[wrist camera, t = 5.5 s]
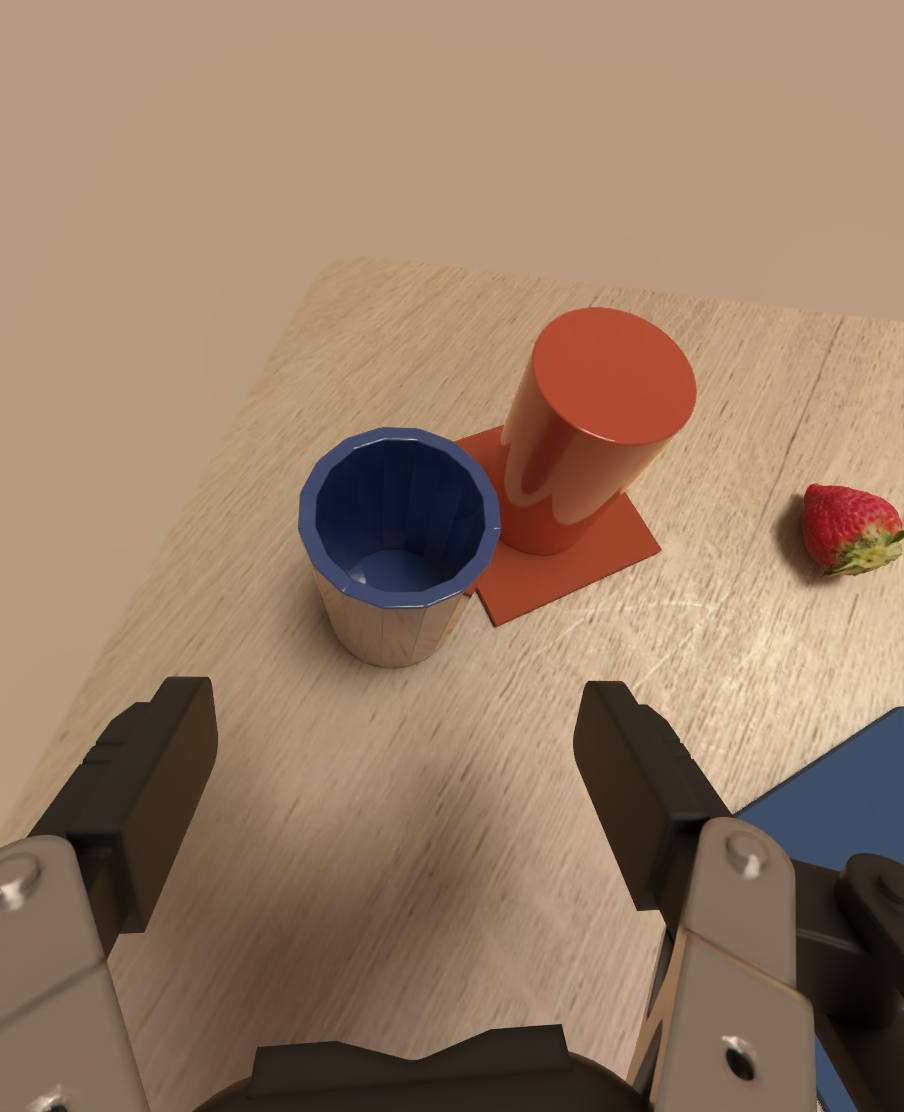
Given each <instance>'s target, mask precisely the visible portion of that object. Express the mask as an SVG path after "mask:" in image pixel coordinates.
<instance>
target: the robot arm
mask: <svg viewBox="0 0 904 1112" xmlns="http://www.w3.org/2000/svg"><path fill="white" fill-rule="evenodd" d="M217 748H218V731H217V723H216V715H215V706H214V698H213V690H212V683H211V680H210V679H209V677H167V678H166V679H165V680H164V682H163V683H162V685H161V686H160V688H159V689H158V691H157V692H156V694H155V695H154V697H153V698H152V700H151V701H150V702H136V703H134V704H133V705H132V706H130V707H129V708H128V709H126V710H125V711H124V712H122V713H121V714H120V715H118V716H117V717H115V718H114V719H113V720H111V722H110V723H109V725H108V726H107V727H106V729H105V730H104V731H103V733H102V734H101V736H100V737H99V738H98V740H97V741H96V745H95V746H93V747H92V748H91V749H90V751H89V752H88V753H87V755H86V756H85V758H84V759H83V763H82V765H79V766H78V767H77V769H76V770H75V771H74V773H73V774H72V775H71V777H70V778H69V780H68V781H67V782H66V784H65V785H64V786H63V788H62V789H61V791H60V792H59V793H58V795H57V796H56V798H55V799H54V800H53V802H52V803H51V804H50V806H49V807H48V809H47V810H46V811H45V813H44V814H43V815H42V817H41V818H40V820H39V821H38V822H37V824H36V825H35V826H34V828H33V829H32V831H31V832H30V833H29V835H28V836H27V837H26V838H24V839H21V840H18V841H15V842H13V843H10V844H8V845H6V846H4V847H2V848H0V1112H150V1109H149V1106H148V1102H147V1099H146V1095H145V1092H144V1088H143V1085H142V1082H141V1078H140V1075H139V1071H138V1068H137V1064H136V1061H135V1057H134V1054H133V1050H132V1047H131V1043H130V1040H129V1036H128V1033H127V1030H126V1026H125V1023H124V1019H123V1016H122V1012H121V1009H120V1005H119V1002H118V998H117V995H116V991H115V988H114V984H113V981H112V978H111V974H110V971H109V967H108V964H107V959H108V957H109V955H110V953H111V950H112V948H113V946H114V944H115V942H116V939H117V937H118V935H119V934H127V933H144V932H145V929H146V927H147V925H148V922H149V920H150V918H151V915H152V913H153V910H154V908H155V906H156V903H157V901H158V898H159V896H160V894H161V891H162V889H163V886H164V884H165V882H166V879H167V877H168V874H169V872H170V870H171V867H172V865H173V862H174V860H175V858H176V855H177V853H178V850H179V848H180V846H181V843H182V841H183V838H184V836H185V834H186V831H187V829H188V827H189V824H190V822H191V819H192V817H193V815H194V812H195V810H196V807H197V805H198V803H199V800H200V798H201V795H202V793H203V791H204V788H205V786H206V783H207V781H208V779H209V776H210V774H211V771H212V769H213V766H214V763H215V759H216V755H217ZM573 750H574V756H575V761H576V764H577V767H578V769H579V771H580V774H581V776H582V779H583V781H584V783H585V786H586V788H587V791H588V793H589V796H590V798H591V800H592V803H593V805H594V808H595V810H596V813H597V815H598V817H599V820H600V822H601V825H602V827H603V829H604V832H605V834H606V837H607V839H608V842H609V844H610V846H611V849H612V851H613V854H614V856H615V859H616V861H617V863H618V866H619V868H620V871H621V873H622V875H623V878H624V880H625V883H626V885H627V888H628V890H629V892H630V895H631V897H632V900H633V902H634V905H635V907H636V909H637V911H646V910H660V912H661V914H662V916H663V919H664V921H665V923H666V925H665V928H664V930H663V933H662V936H661V941H660V945H659V950H658V954H657V958H656V963H655V967H654V972H653V976H652V980H651V985H650V989H649V994H648V998H647V1002H646V1007H645V1011H644V1016H643V1020H642V1024H641V1029H640V1033H639V1037H638V1040H637V1044H636V1048H635V1051H634V1054H633V1057H632V1061H631V1064H630V1067H629V1071H628V1074H627V1078H626V1081H624V1080H623V1079H622V1078H620V1077H619V1076H618V1075H616V1074H615V1073H614V1072H612V1071H610V1070H609V1069H607V1068H605V1067H604V1066H602V1065H600V1064H599V1063H597V1062H595V1061H593V1060H591V1059H588V1058H586V1057H584V1056H581V1055H579V1054H576V1053H573V1052H569V1051H568V1049H567V1045H566V1041H565V1036H564V1032H563V1028H562V1024H555V1025H542V1026H528V1027H515V1028H502V1029H490V1030H488V1031H486V1032H483V1033H481V1034H479V1035H476V1036H474V1037H472V1038H469V1039H467V1040H465V1041H463V1042H460V1043H458V1044H456V1045H453V1046H451V1047H449V1048H446V1049H444V1050H442V1051H439V1052H437V1053H435V1054H432V1055H430V1056H428V1057H425V1058H423V1059H419V1060H407V1059H403V1058H399V1057H395V1056H391V1055H388V1054H384V1053H380V1052H376V1051H372V1050H368V1049H365V1048H361V1047H357V1046H353V1045H349V1044H345V1043H342V1042H338V1041H330V1042H317V1043H304V1044H291V1045H277V1046H264V1047H257V1050H256V1055H255V1061H254V1066H253V1071H252V1076H250V1077H248V1078H245V1079H243V1080H241V1081H238V1082H236V1083H234V1084H233V1085H231V1086H229V1087H227V1088H226V1089H224V1090H222V1091H220V1092H219V1093H217V1094H215V1095H214V1096H213V1097H211V1098H210V1099H208V1100H207V1101H206V1102H204V1103H203V1104H201V1105H200V1106H199V1107H197V1108H196V1109H195V1110H194V1111H192V1112H817V1095H816V1065H815V1036H814V1032H815V1034H816V1036H817V1038H818V1039H819V1041H820V1043H821V1045H822V1047H823V1049H824V1050H825V1052H826V1054H827V1056H828V1058H829V1059H830V1061H831V1063H832V1065H833V1067H834V1069H835V1070H836V1072H837V1074H838V1076H839V1078H840V1080H841V1081H842V1083H843V1085H844V1087H845V1089H846V1091H847V1092H848V1094H849V1096H850V1098H851V1100H852V1102H853V1103H854V1105H855V1107H856V1109H857V1111H858V1112H904V1011H903V1010H902V1008H903V1007H904V865H902V864H900V863H899V862H896V861H894V860H892V859H890V858H887V857H884V856H881V855H877V854H873V853H858V854H854V855H852V856H851V857H850V858H849V859H848V861H847V862H846V864H845V866H844V868H843V870H842V871H841V872H840V871H836V870H832V869H829V868H825V867H821V866H817V865H813V864H809V863H806V862H802V861H798V860H794V859H791V858H789V857H788V855H787V854H786V852H785V851H784V850H783V849H782V847H781V846H780V845H779V844H778V843H777V842H776V841H775V840H774V839H773V838H771V837H770V836H769V835H768V834H766V833H765V832H763V831H762V830H760V829H759V828H757V827H755V826H753V825H751V824H749V823H747V822H744V821H742V820H738V819H735V818H734V817H733V816H732V814H731V813H730V811H729V810H728V808H727V807H726V805H725V804H724V803H723V801H722V800H721V798H720V797H719V795H718V794H717V792H716V791H715V790H714V788H713V787H712V785H711V784H710V782H709V781H708V779H707V778H706V776H705V775H704V774H703V772H702V771H701V769H700V768H699V766H698V765H697V763H696V762H695V761H694V759H691V755H690V753H689V752H688V750H687V749H686V747H685V746H684V745H683V743H680V739H679V737H678V736H677V734H676V733H675V732H674V730H673V729H672V727H671V726H670V724H669V723H668V721H667V720H666V719H664V718H663V717H662V716H661V715H659V714H658V713H657V712H656V711H654V710H653V709H652V708H651V707H649V706H648V705H639V704H638V703H637V701H636V700H635V698H634V696H633V695H632V693H631V692H630V690H629V689H628V687H627V686H626V684H625V683H624V682H622V681H588V682H587V683H586V685H585V687H584V691H583V695H582V699H581V704H580V708H579V713H578V717H577V722H576V726H575V731H574V736H573Z"/></svg>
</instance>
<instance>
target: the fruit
mask: <svg viewBox="0 0 904 1112" xmlns="http://www.w3.org/2000/svg"><path fill="white" fill-rule="evenodd" d="M804 504H805V505H804V508H803V512H802V516H801V524H802V529H803V536H804V544H805V546H806V549H807V550H808V553H809V555H810V556H811V557H812V559H813V560H815V561H816V562H817V563H818V564H820V565H821V566H823V567H826V568H828V569H827V572H824V573H823V574H822V576H820V577H828V576H838V575H853V576H856V575H858V574H861V573H866V572H869V571H872V570H874V569H877V568H879V567H881V566H885V565H887V564H889V563H890V561H895V560H896V559H898V557H899V556H900V555H902V548H901V543H899V541H900V540H902V539H903V538H904V530H902V522H901V519H900V518H899V515H898V512H897V511H896V510H895V508H894V507H893V506H892V505H891V504H890V503H888V502H887V501H885V500H884V499H882V498H880V497H878V496H875V495H872V494H870V493H868V492H863V491H858V490H854V489H851V488H849V487H844V486H831V485H830V486H822V485H819V484H812V485H810V486H809V487H808V488H807V490H806V493H805V495H804Z"/></svg>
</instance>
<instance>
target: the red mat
mask: <svg viewBox="0 0 904 1112" xmlns="http://www.w3.org/2000/svg"><path fill="white" fill-rule="evenodd" d="M503 428H504V425H502V426H499V427H496V428H493V429H490V430H487V431H484V432H481V433H478V434H475V435H472V436H469V437H466V438H463V439H460V440H457V441H454V442H455V443H456V444H457V445H458V446H459V447H461V448H462V449H463V450H464V451H465V452H467V453H468V454H469V455H470V456H471V457H473V458H474V459H475V460H476V461H477V462H479V463H480V465H481V466H482V468H483V469H484V471H485V473H487V471H488V468H489V465H490V463H491V460H492V457H493V454H494V452H495V449H496V446H497V444H498V441H499V438H500V436H501V433H502V430H503ZM661 550H662V549H661V548H660V546H659V545H658V543H657V542H656V540H655V538H654V537H653V535H652V534H651V532H650V531H649V529H648V527H647V526H646V524H645V523H644V521H643V520H642V518H641V516H640V515H639V513H638V512H637V510H636V509H635V507H634V505H633V504H632V502H631V501H630V499H629V498H628V496H627V494H626V493H625V492H624V493H623V494H622V495H621V496H620V497H619V498H618V499H617V500H616V501H615V503H614V504H613V505H612V506H611V507H610V508H609V509H608V510H607V511H606V512H605V514H604V515H603V516H602V517H601V518H600V519H599V520H598V521H597V522H596V524H595V525H594V526H593V527H592V528H591V529H590V530H589V531H588V532H587V533H586V535H585V536H584V537H583V538H582V539H581V540H580V541H579V542H578V543H577V544H576V545H574V546H573V547H571V548H570V549H568V550H566V551H563V552H560V553H557V554H552V555H534V554H529V553H525V552H522V551H519V550H517V549H515V548H513V547H511V546H510V545H508V544H506V543H505V542H504V541H502V540H501V539H500V538H499V539H498V542H497V545H496V548H495V551H494V554H493V557H492V560H491V563H490V564H489V566H488V568H487V570H486V572H485V573H484V575H483V577H482V579H481V581H480V582H479V584H478V586H477V588H476V590H477V592H478V594H479V596H480V598H481V600H482V602H483V604H484V606H485V608H486V610H487V612H488V614H489V616H490V618H491V620H492V622H493V624H494V626H495V627H497V626H500V625H502V624H504V623H506V622H508V621H510V620H513V619H515V618H517V617H519V616H521V615H524V614H526V613H528V612H530V611H532V610H535V609H537V608H539V607H541V606H543V605H545V604H548V603H550V602H552V601H554V600H556V599H559V598H561V597H563V596H565V595H567V594H570V593H572V592H574V591H576V590H578V589H580V588H583V587H585V586H587V585H589V584H591V583H594V582H596V581H598V580H600V579H602V578H604V577H607V576H609V575H611V574H613V573H615V572H618V571H620V570H622V569H624V568H626V567H629V566H631V565H633V564H635V563H637V562H639V561H642V560H644V559H646V558H648V557H650V556H653V555H655V554H657V553H659V552H660V551H661Z"/></svg>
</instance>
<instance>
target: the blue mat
mask: <svg viewBox="0 0 904 1112" xmlns="http://www.w3.org/2000/svg"><path fill="white" fill-rule="evenodd" d="M733 817H734V818H735V819H738V820H742V821H744V822H747V823H749V824H751V825H753V826H755V827H757V828H759V829H760V830H762V831H763V832H765V833H766V834H768V835H769V836H770V837H771V838H773V839H774V840H775V841H776V842H777V843H778V844H779V845H780V846H781V847H782V849H783V850H784V851H785V852H786V854H787V855H788V857H789V858H791V859H794V860H798V861H802V862H806V863H809V864H813V865H817V866H821V867H825V868H829V869H832V870H836V871H840V872H841V871H842V870H843V868H844V866H845V864H846V862H847V861H848V859H849V858H850V857H851V856H852V855H854V854H858V853H873V854H877V855H881V856H884V857H887V858H890V859H892V860H894V861H896V862H899V863H900V864H902V865H904V706H901V707H896V708H895V709H893V710H892V711H890V712H889V713H887V714H886V715H884V716H883V717H881V718H880V719H878V720H877V721H875V722H874V723H872V724H871V725H869V726H868V727H866V728H865V729H863V730H862V731H860V732H858V733H857V734H855V735H854V736H852V737H851V738H849V739H848V740H846V741H845V742H843V743H842V744H840V745H839V746H837V747H836V748H834V749H833V750H831V751H830V752H828V753H827V754H825V755H824V756H822V757H821V758H819V759H818V760H816V761H815V762H813V763H812V764H810V765H809V766H807V767H806V768H804V769H803V770H801V771H800V772H798V773H797V774H795V775H794V776H792V777H791V778H789V779H788V780H786V781H785V782H783V783H782V784H780V785H779V786H777V787H776V788H774V789H773V790H771V791H770V792H768V793H767V794H765V795H763V796H762V797H760V798H759V799H757V800H756V801H754V802H753V803H751V804H750V805H748V806H747V807H745V808H744V809H742V810H741V811H739V812H738V813H736V814H735V815H733ZM902 1010H903V1011H904V1007H903V1008H902ZM814 1036H815V1065H816V1094H817V1096H818V1098H819V1100H820V1101H821V1103H822V1105H823V1107H824V1109H825V1111H826V1112H858V1111H857V1109H856V1107H855V1105H854V1103H853V1102H852V1100H851V1098H850V1096H849V1094H848V1092H847V1091H846V1089H845V1087H844V1085H843V1083H842V1081H841V1080H840V1078H839V1076H838V1074H837V1072H836V1070H835V1069H834V1067H833V1065H832V1063H831V1061H830V1059H829V1058H828V1056H827V1054H826V1052H825V1050H824V1049H823V1047H822V1045H821V1043H820V1041H819V1039H818V1038H817V1036H816V1034H815V1032H814Z"/></svg>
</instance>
